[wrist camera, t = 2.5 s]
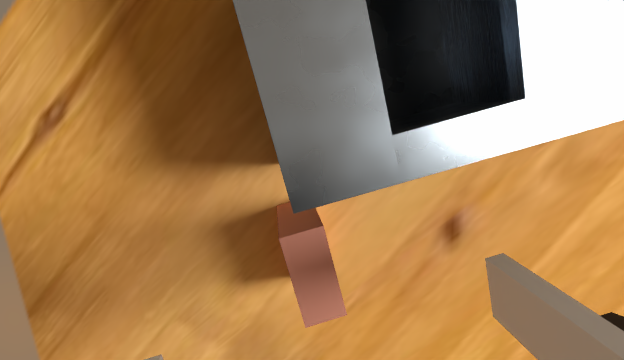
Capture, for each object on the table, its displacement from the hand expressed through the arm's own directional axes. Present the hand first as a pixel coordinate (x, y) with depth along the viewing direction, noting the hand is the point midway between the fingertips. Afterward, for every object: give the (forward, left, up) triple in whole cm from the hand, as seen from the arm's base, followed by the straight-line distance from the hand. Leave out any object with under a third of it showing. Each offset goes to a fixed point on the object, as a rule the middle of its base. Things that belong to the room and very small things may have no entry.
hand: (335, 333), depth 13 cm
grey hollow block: (+6, +11, -11) cm, 17 cm away
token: (0, 0, -11) cm, 11 cm away
